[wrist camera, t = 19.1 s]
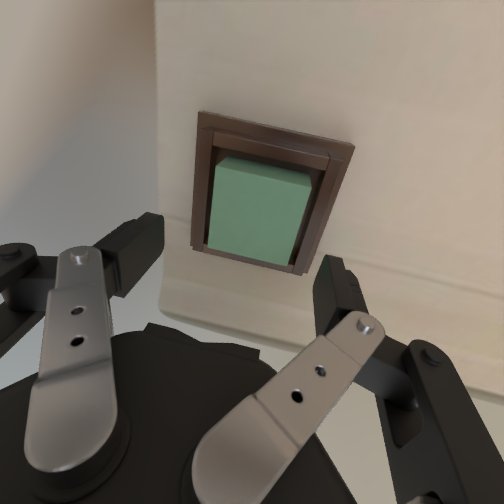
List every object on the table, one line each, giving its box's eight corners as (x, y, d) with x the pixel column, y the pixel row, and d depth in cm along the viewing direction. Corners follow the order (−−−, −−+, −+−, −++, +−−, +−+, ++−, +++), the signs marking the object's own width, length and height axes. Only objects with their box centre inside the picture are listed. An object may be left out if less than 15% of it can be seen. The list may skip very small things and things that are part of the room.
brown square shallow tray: (194, 240, 22) (183, 255, 20) (202, 110, 17) (189, 112, 15) (307, 267, 22) (308, 285, 20) (352, 143, 16) (360, 150, 14)
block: (218, 228, 20) (207, 247, 17) (227, 155, 17) (215, 165, 14) (288, 245, 20) (286, 267, 17) (309, 173, 17) (312, 187, 14)
